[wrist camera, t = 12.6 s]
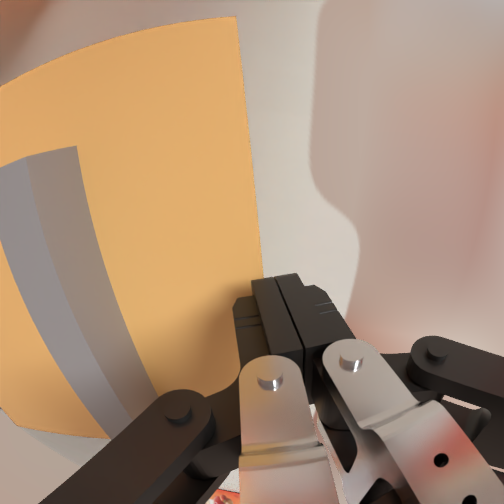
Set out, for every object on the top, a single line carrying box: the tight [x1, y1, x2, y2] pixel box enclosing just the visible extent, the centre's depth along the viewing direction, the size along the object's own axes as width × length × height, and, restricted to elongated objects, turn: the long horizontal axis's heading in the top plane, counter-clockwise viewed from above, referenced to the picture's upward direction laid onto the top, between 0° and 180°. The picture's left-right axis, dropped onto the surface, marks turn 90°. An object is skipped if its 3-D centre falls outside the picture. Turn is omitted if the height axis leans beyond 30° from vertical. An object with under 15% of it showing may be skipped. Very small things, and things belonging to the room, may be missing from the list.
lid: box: [0, 16, 264, 440], centre depth 9 cm, size 18×18×4 cm
